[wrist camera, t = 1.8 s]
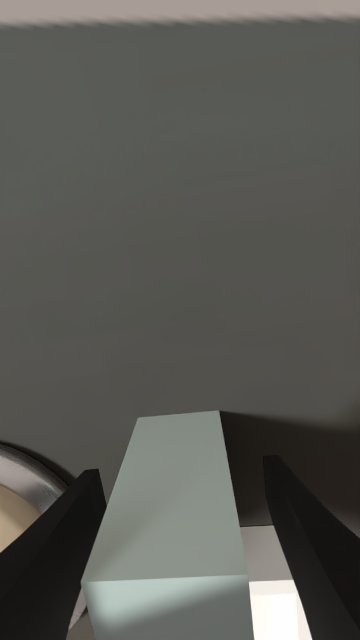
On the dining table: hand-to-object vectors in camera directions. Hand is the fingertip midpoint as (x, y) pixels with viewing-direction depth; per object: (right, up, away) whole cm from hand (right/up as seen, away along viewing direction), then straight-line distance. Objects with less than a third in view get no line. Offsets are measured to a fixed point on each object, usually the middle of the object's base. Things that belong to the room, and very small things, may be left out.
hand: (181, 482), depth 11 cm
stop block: (0, 0, +2) cm, 2 cm away
